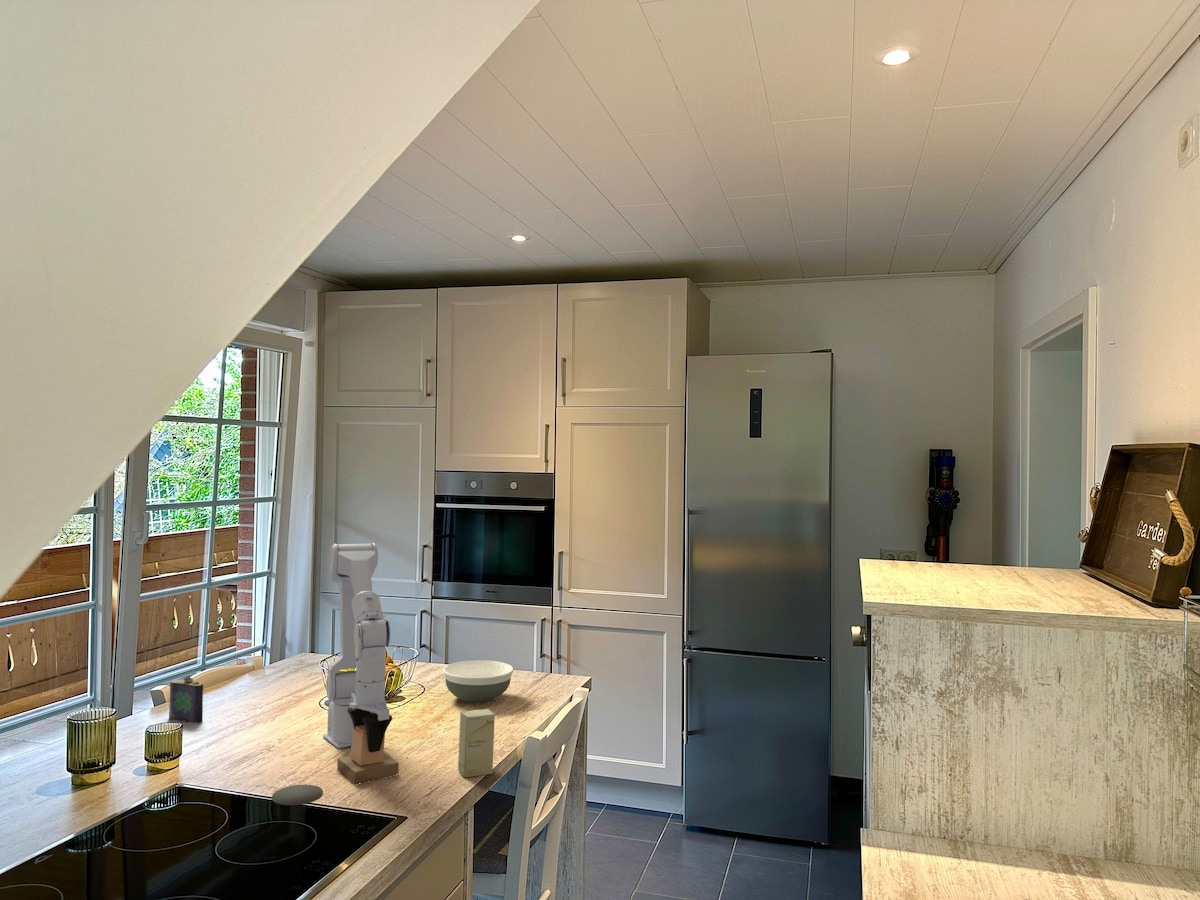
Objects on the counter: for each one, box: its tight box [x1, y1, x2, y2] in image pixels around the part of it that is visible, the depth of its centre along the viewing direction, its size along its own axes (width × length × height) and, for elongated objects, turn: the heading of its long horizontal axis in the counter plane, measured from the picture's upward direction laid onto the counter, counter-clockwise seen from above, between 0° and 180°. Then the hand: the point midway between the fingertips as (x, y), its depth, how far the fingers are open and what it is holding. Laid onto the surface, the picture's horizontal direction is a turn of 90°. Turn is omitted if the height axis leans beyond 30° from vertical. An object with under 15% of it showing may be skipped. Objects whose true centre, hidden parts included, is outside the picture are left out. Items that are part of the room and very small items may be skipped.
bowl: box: [442, 659, 514, 705], centre depth 217 cm, size 19×19×8 cm
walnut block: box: [336, 752, 399, 786], centre depth 165 cm, size 9×9×3 cm
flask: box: [168, 674, 204, 724], centre depth 194 cm, size 9×3×11 cm, turn 71°
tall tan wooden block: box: [350, 725, 386, 766], centre depth 165 cm, size 5×5×6 cm
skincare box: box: [457, 708, 496, 778], centre depth 167 cm, size 6×4×12 cm
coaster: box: [271, 784, 324, 806], centre depth 153 cm, size 9×9×1 cm
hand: (368, 746), depth 165 cm, fingers open, 5 cm apart
